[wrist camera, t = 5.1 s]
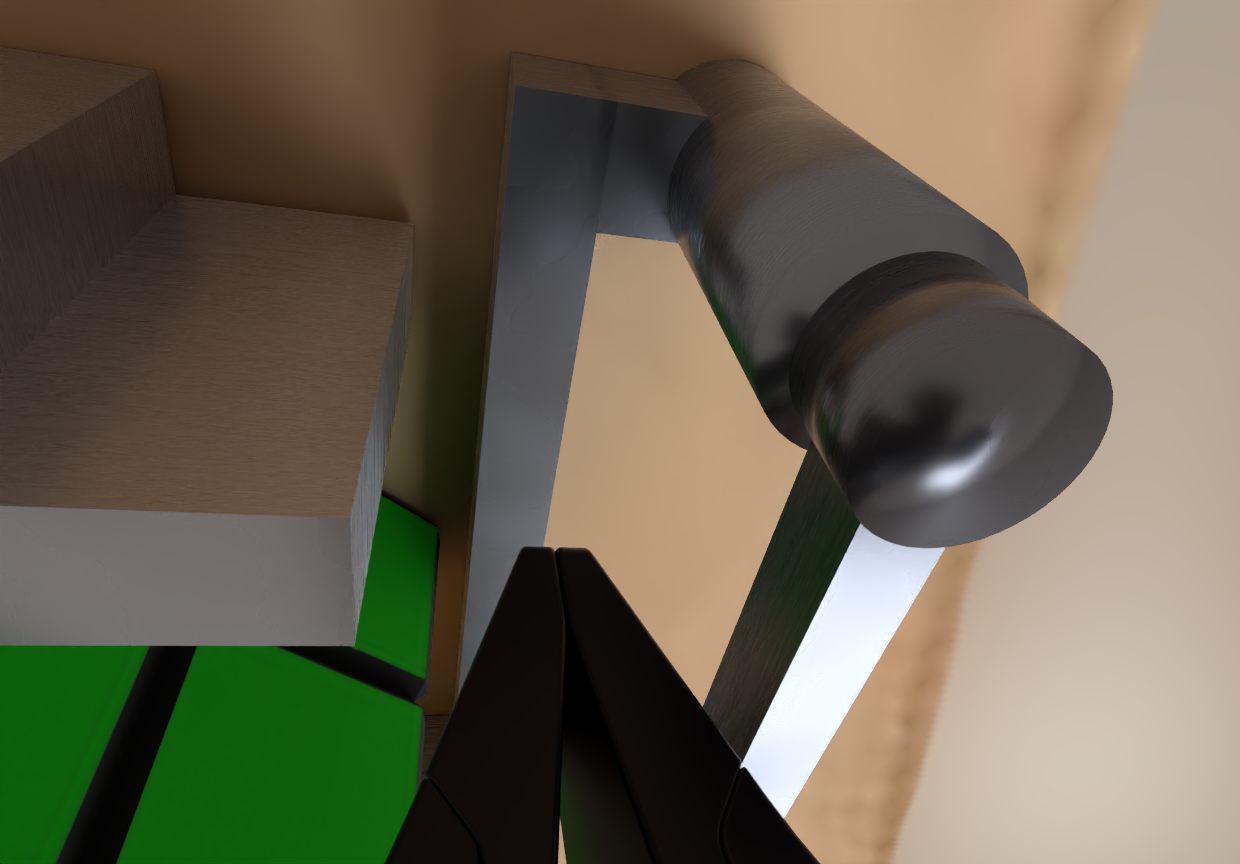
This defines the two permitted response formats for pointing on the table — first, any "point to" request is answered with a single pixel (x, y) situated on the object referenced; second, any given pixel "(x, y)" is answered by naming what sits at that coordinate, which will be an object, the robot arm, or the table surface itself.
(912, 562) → the lever
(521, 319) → the base
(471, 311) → the table surface
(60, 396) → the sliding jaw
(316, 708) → the puzzle cube
